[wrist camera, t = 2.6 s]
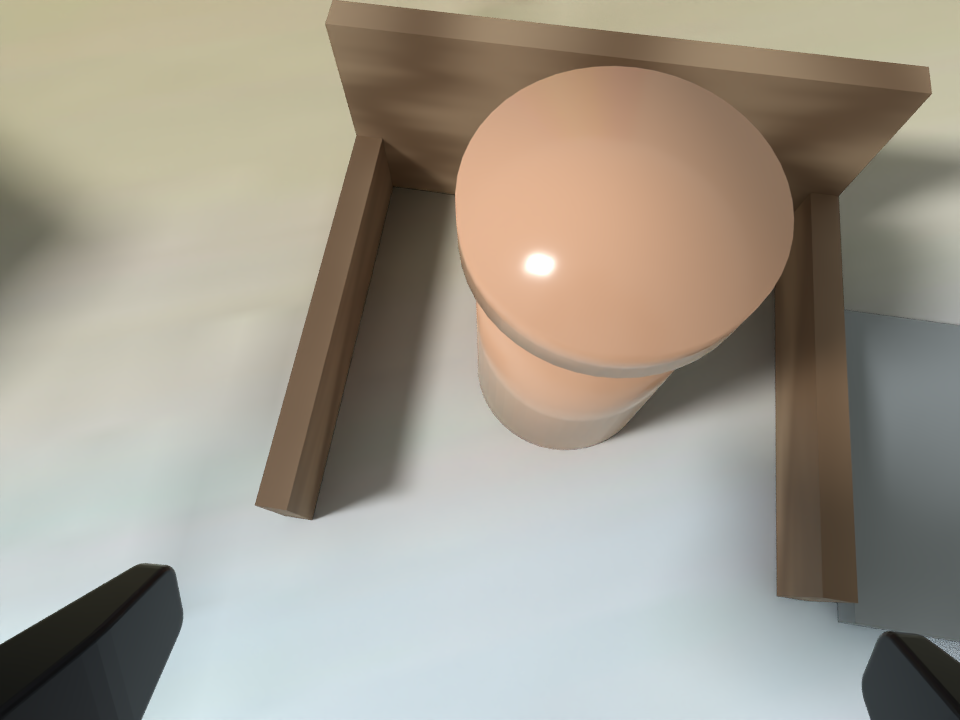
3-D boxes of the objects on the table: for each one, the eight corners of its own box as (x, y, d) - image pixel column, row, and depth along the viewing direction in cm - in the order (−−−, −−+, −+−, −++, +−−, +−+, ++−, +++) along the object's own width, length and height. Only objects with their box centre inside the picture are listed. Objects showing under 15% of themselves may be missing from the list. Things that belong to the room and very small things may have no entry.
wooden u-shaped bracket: (798, 218, 26) (928, 67, 18) (807, 601, 21) (992, 609, 13) (375, 164, 27) (332, -1, 19) (284, 515, 22) (179, 478, 14)
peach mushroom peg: (662, 295, 25) (791, 85, 14) (650, 475, 22) (797, 379, 12) (482, 271, 25) (482, 49, 15) (452, 444, 23) (426, 326, 12)
